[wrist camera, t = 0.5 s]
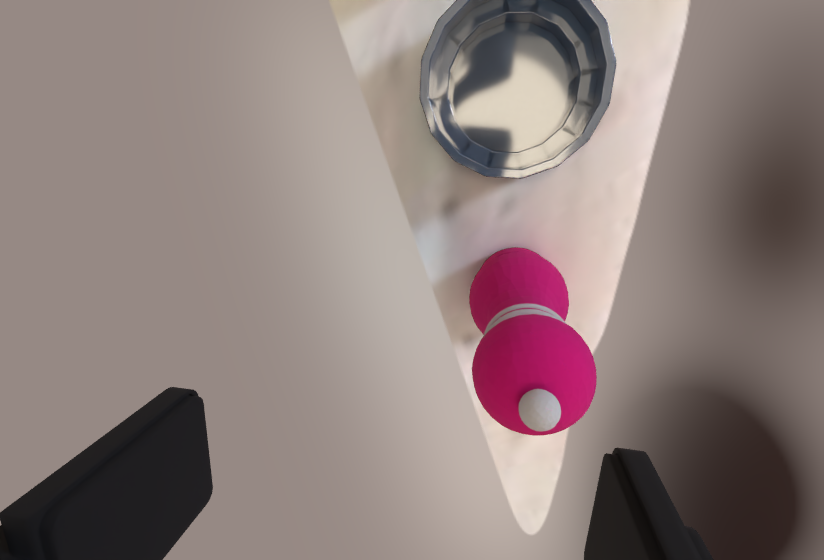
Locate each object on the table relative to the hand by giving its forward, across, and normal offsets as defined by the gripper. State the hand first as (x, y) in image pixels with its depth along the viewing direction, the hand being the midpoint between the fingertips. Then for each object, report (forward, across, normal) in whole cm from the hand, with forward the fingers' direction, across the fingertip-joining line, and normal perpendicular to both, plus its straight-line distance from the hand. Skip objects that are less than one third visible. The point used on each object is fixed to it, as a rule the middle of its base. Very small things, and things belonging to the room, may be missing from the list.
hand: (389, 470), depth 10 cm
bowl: (+28, -3, -11) cm, 31 cm away
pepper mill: (+28, -5, +4) cm, 29 cm away
